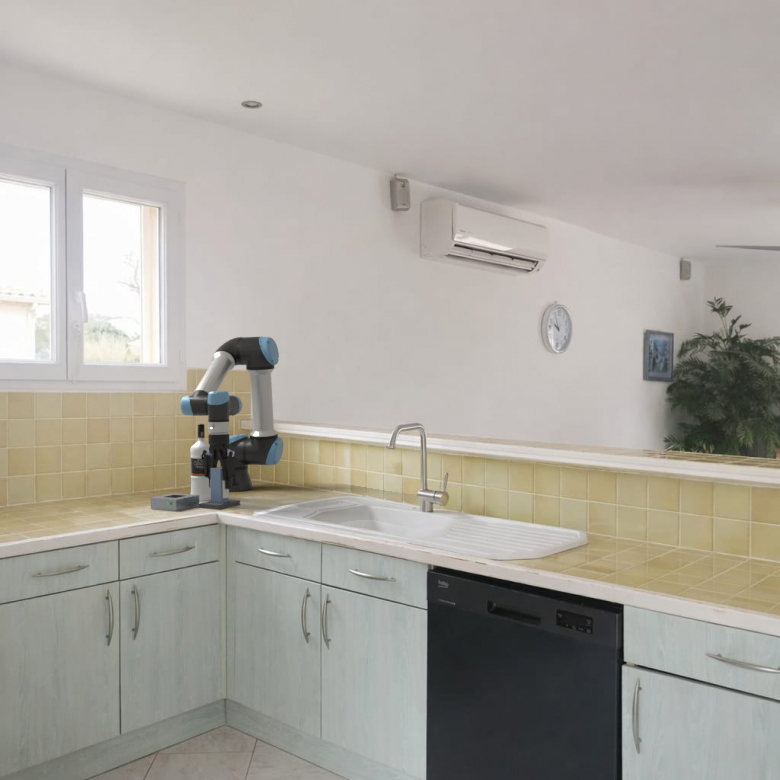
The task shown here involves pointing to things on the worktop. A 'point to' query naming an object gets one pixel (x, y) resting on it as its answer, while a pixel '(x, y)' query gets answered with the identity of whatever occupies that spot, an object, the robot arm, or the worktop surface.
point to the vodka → (199, 467)
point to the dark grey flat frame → (219, 506)
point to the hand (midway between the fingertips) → (219, 497)
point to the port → (174, 502)
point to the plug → (217, 486)
